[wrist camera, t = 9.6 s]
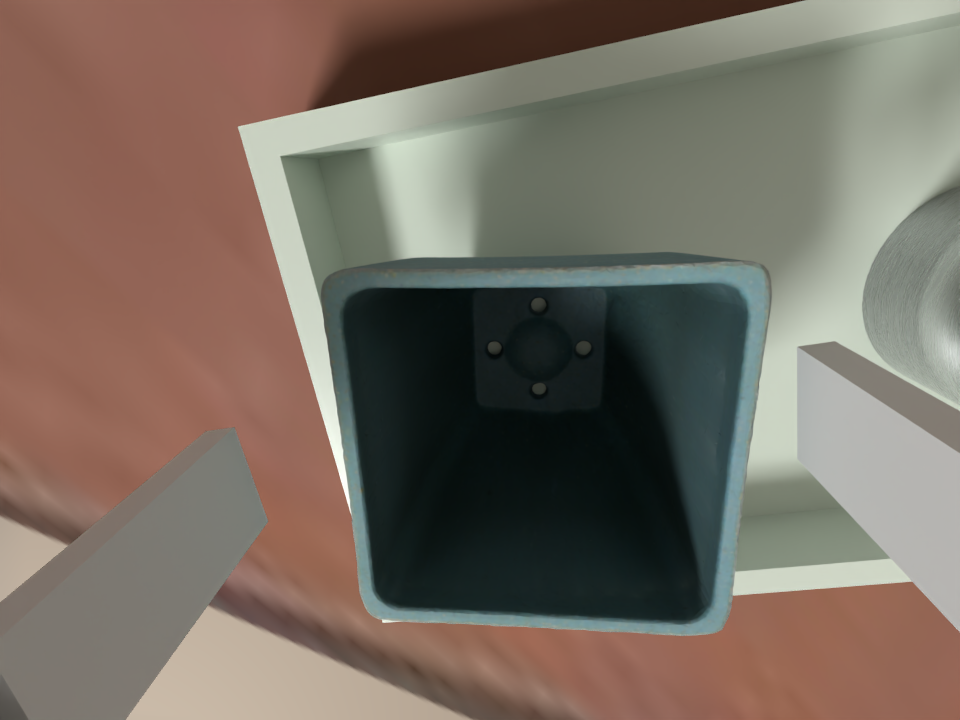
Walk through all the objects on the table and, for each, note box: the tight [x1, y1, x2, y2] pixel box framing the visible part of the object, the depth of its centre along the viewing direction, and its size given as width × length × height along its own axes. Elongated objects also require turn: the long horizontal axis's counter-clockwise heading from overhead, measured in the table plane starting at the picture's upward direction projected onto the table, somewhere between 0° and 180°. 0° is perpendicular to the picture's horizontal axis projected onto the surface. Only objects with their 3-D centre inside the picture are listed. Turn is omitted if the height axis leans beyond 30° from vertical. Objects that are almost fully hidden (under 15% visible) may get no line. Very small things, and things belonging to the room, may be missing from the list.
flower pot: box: [321, 252, 772, 636], centre depth 16 cm, size 9×9×9 cm
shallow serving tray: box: [238, 0, 960, 623], centre depth 18 cm, size 28×18×4 cm, turn 100°
